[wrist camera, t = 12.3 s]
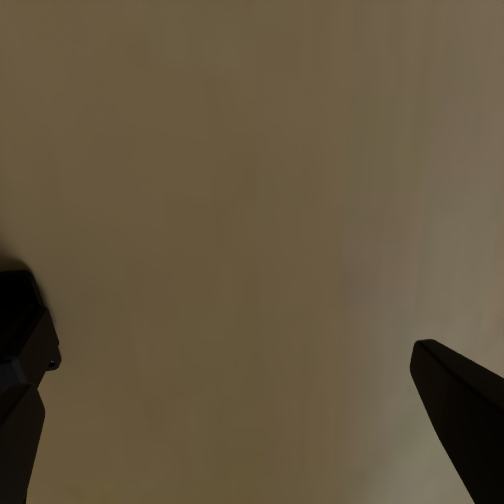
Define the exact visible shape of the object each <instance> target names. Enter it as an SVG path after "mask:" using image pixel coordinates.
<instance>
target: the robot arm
mask: <svg viewBox="0 0 504 504" xmlns="http://www.w3.org/2000/svg"><path fill="white" fill-rule="evenodd" d="M19 278H22V279H24V280H25V281H26V283H24V282H21V281H20V280H19ZM58 345H59V340H58V337H57V334H56V331H55V328H54V325H53V322H52V319H51V316H50V313H49V310H48V308H47V307H46V306H44V305H43V302H42V299H41V296H40V293H39V290H38V287H37V284H36V282H35V279H34V276H33V275H32V274H31V273H30V272H28V271H25V270H18V271H6V272H0V504H26V497H27V488H28V485H29V481H30V477H31V474H32V469H33V465H34V461H35V457H36V453H37V448H38V444H39V440H40V436H41V432H42V427H43V423H44V419H45V408H44V405H43V402H42V400H41V397H40V395H39V392H38V390H37V388H38V386H39V384H40V382H41V380H42V378H43V376H44V374H45V372H46V371H51V370H56V369H57V368H58V367H59V365H60V363H61V361H62V360H61V355H60V352H59V350H58ZM51 361H53V362H51ZM410 373H411V376H412V378H413V381H414V383H415V385H416V388H417V390H418V392H419V395H420V397H421V399H422V402H423V404H424V407H425V409H426V411H427V414H428V416H429V418H430V421H431V423H432V425H433V427H434V430H435V432H436V434H437V436H438V438H439V440H440V441H441V443H442V445H443V447H444V449H445V451H446V452H447V454H448V456H449V458H450V460H451V461H452V463H453V465H454V467H455V469H456V471H457V472H458V474H459V476H460V478H461V480H462V481H463V483H464V485H465V487H466V489H467V490H468V492H469V494H470V496H471V498H472V500H473V501H474V503H475V504H504V378H502V377H501V376H499V375H497V374H495V373H493V372H492V371H490V370H488V369H486V368H484V367H482V366H481V365H479V364H477V363H475V362H473V361H472V360H470V359H468V358H466V357H464V356H463V355H461V354H459V353H457V352H455V351H454V350H452V349H450V348H448V347H446V346H445V345H443V344H441V343H439V342H437V341H436V340H433V339H425V340H418V341H416V342H415V343H414V347H413V352H412V357H411V362H410Z"/></svg>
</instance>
